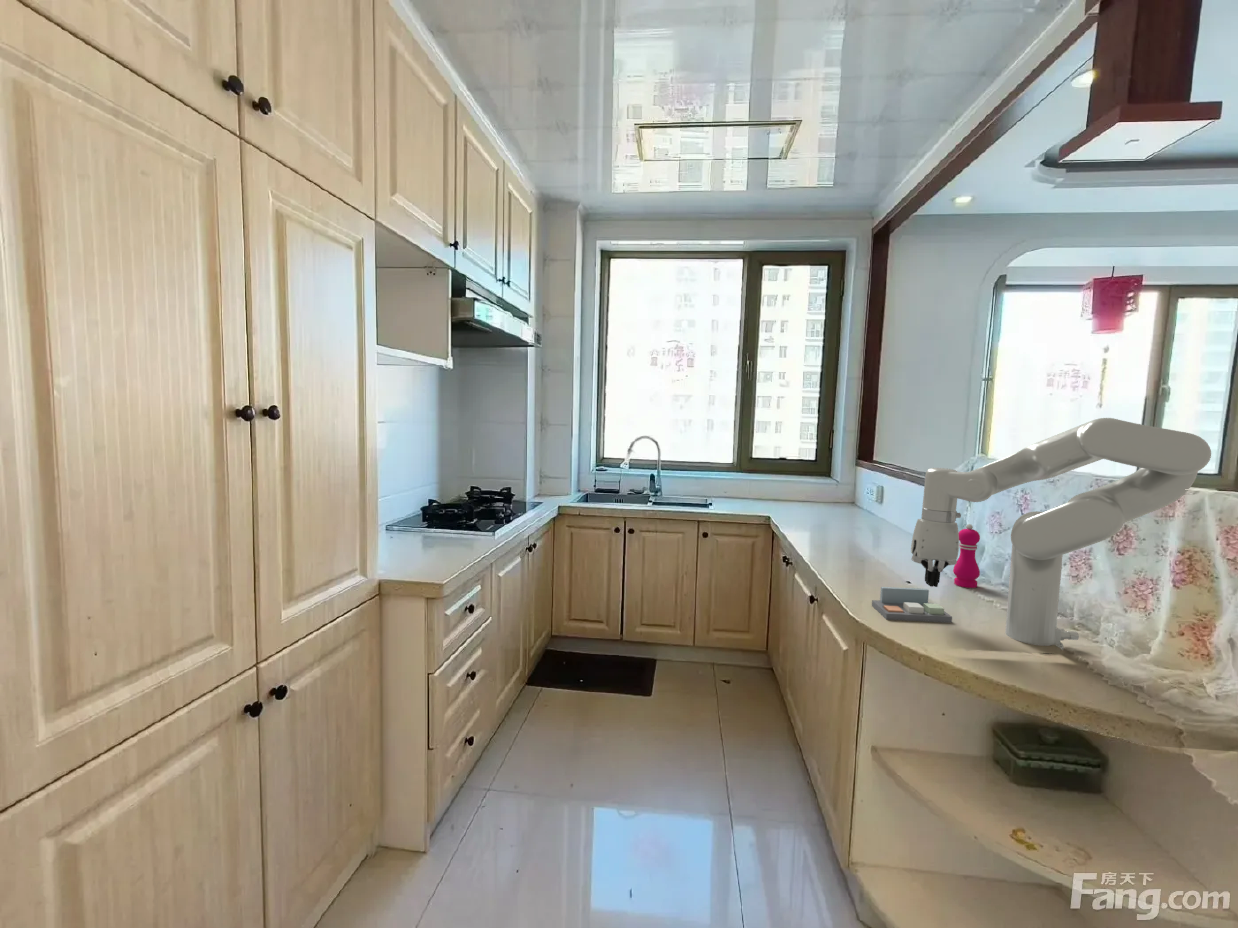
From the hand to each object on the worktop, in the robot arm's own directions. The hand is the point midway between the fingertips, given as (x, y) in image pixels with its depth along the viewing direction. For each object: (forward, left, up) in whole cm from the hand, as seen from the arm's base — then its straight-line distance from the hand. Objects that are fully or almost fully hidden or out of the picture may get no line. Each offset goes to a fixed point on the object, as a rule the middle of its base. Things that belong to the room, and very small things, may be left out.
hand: (931, 584), depth 142 cm
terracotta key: (+9, 0, -10) cm, 13 cm away
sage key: (-1, 0, -8) cm, 8 cm away
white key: (+4, 0, -8) cm, 9 cm away
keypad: (+4, -1, -10) cm, 11 cm away
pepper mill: (-27, -36, -10) cm, 46 cm away
